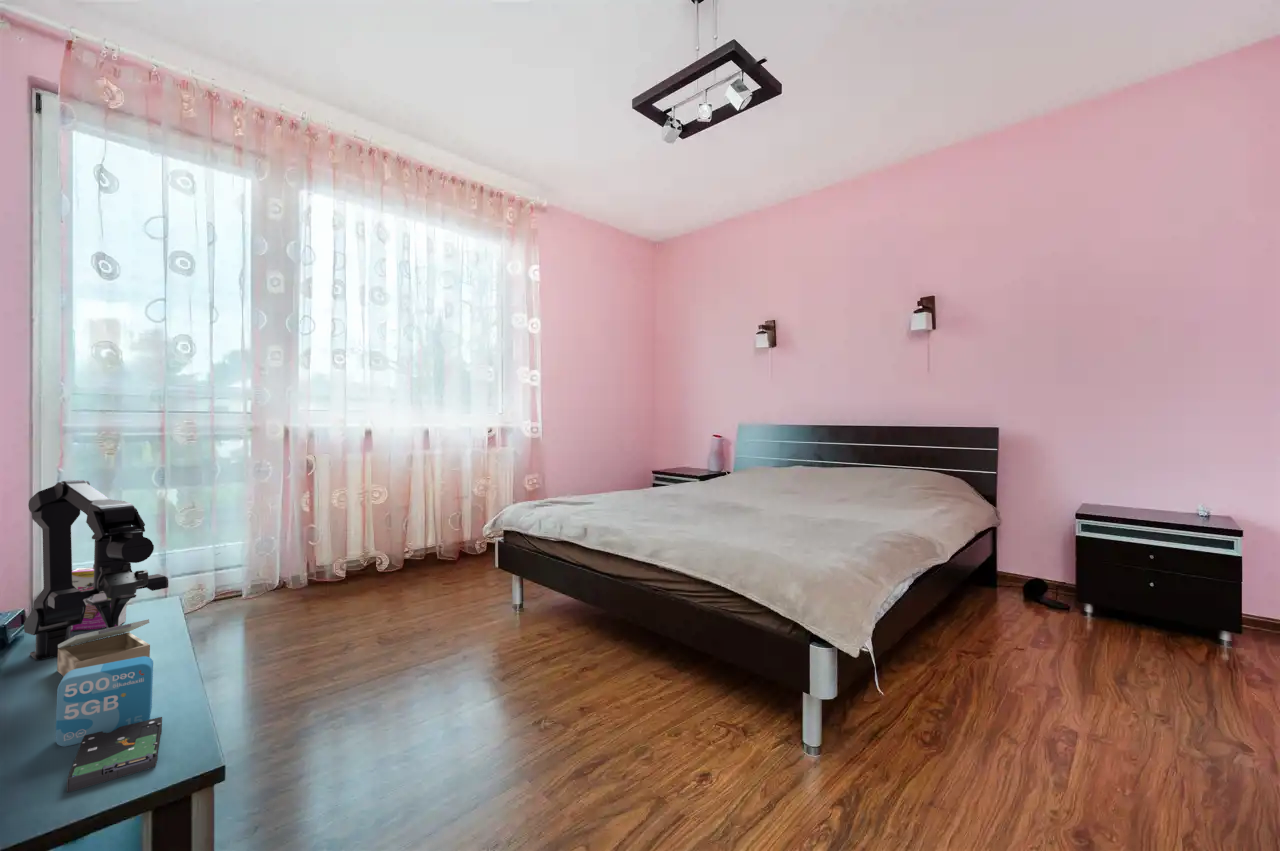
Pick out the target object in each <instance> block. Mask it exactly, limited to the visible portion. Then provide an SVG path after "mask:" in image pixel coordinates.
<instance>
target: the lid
mask: <svg viewBox="0 0 1280 851" xmlns="http://www.w3.org/2000/svg"><path fill="white" fill-rule="evenodd" d="M147 624H150V619H149V618H148V619H143V620H139V621H135V622H130V623H126V624H123V625H122V624H121V625H120V626H116V627H112V628H102V629H98V630H95V631H90V632H85V633H80V634H77V635H74V636H72V637H71V638H70V639H68V640H66V641H64V642H62V643H60V644H58V648H62V647H66V646H72V645H76V644H80V643H85V642H89V641H93V640H98V639H102V638H106V637H110V636H115V635H119V634H123V633H128V632H129V633H131V632H132V631H135V630H136V629H139V628H141V627H143V626H145V625H147Z"/></svg>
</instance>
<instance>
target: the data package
mask: <svg viewBox="0 0 1280 851" xmlns="http://www.w3.org/2000/svg"><path fill="white" fill-rule="evenodd" d="M153 675H154V660H153V659H152V657H146V656H142V657H137V658H131V659H126V660H121V661H115V662H110V663H105V664H99V665H94V666H89V667H83V668H78V669H74V670H71V671H69V672H68V673H66V674H65V676H62V679H61V680H60V682H59V684H58V686H57V688H56V689H57V690H56V714H55V716H56V717H55V743H56V745H58V746H59V747H71V746H75V745H79V744H81V742H82V739H83V738H84V736H85V735H89V734H93V733H97V732H101V731H103V733H105V732H106V733H109V732H112V731H113V730H116V729H117V728H119V727H121V726H125V725H129V724H134V723H138V722H143V721H147V720H150V719H151V714H152V708H153V684H154V683H153V680H154V679H153V677H154V676H153Z"/></svg>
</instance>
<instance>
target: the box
mask: <svg viewBox="0 0 1280 851" xmlns="http://www.w3.org/2000/svg"><path fill="white" fill-rule="evenodd" d="M142 656H146V657H150V656H151V644H149V643H147V642H146V641H145V640H143V639H142V638H140V637H138V636H136V635H134V634H133V633H131V632H126V633H122V634H118V635H114V636H109V637H105V638H101V639H97V640H92V641H88V642H84V643H79V644H75V645H71V646H68V647H63V648H59V649H58V656H57V664H56V671H57V672H58V673H59V674H61V675H62V677H64V676H65V674H66V673H68V672H69V671H71V670H74V669H78V668H83V667H89V666H94V665H99V664H105V663H110V662H115V661H121V660H126V659H131V658H137V657H142ZM150 658H151V657H150Z"/></svg>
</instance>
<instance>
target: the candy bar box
mask: <svg viewBox="0 0 1280 851" xmlns="http://www.w3.org/2000/svg"><path fill="white" fill-rule="evenodd" d="M93 583H94V569H93V567H91V566H90V567H89V566H88V567H77V568H73V569H72V584H73V586H74V587H75V588H76V589H77V590H80V591H85V590H90V589H94V587H93ZM103 592H104V591H103ZM108 599H109V600H111V598H108ZM83 600H84V602H85V600H87V599H83ZM85 604H86V609H85V614H84V618H83V621H82V624H77V625H73V626H71V633H72V632H79V631H80V632H82V631H88V630H103V629H108V628H107V626H106V624H105V622H104V620H103V618H102V616H101V614H100V613H99V611H98V610H97V608H96V607H95V606H94V605H90V604H88V603H86V602H85ZM110 608H111V605H110ZM126 621H127V603H126V604H125V606H124V608H123V609H122V611H121V613H120V616H119V618H118V620H117V622H116V624H115V626H114V627H116V626H121V625H122V623H123V624H124V623H125V622H126Z"/></svg>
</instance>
